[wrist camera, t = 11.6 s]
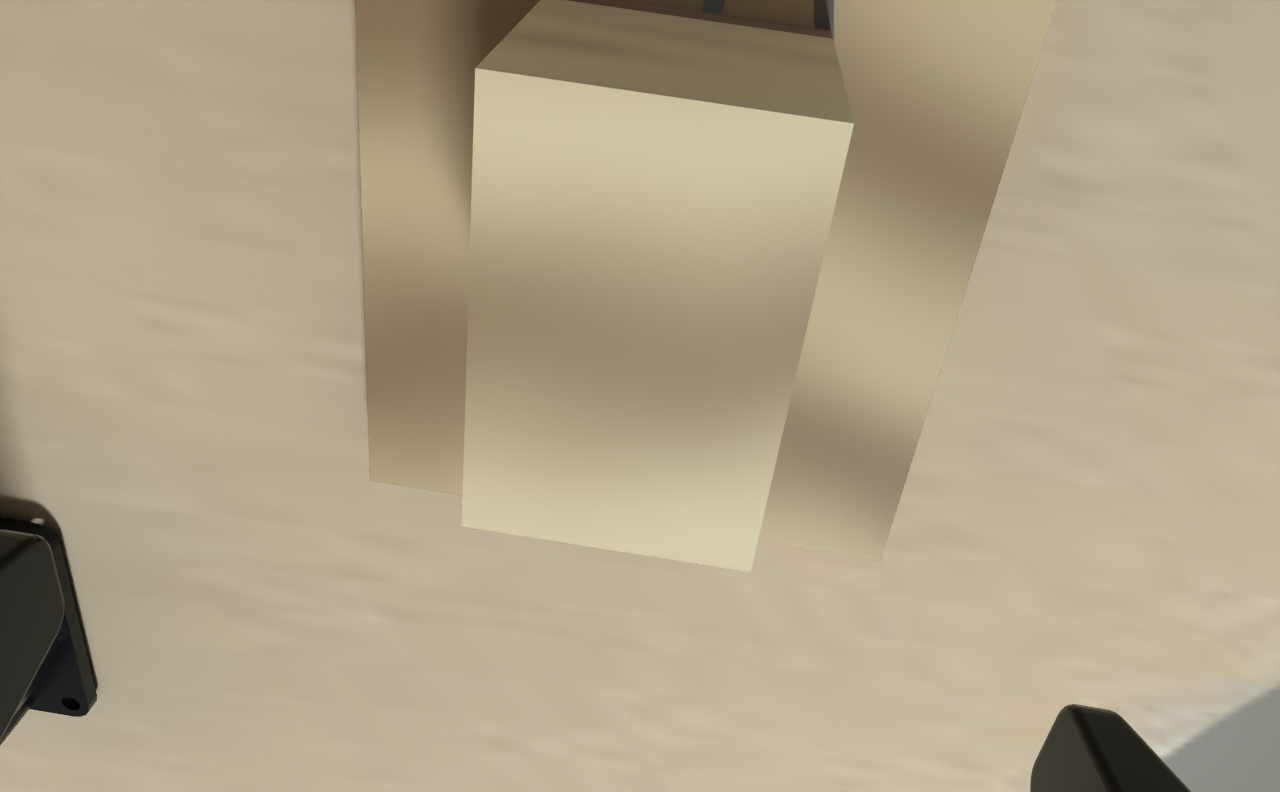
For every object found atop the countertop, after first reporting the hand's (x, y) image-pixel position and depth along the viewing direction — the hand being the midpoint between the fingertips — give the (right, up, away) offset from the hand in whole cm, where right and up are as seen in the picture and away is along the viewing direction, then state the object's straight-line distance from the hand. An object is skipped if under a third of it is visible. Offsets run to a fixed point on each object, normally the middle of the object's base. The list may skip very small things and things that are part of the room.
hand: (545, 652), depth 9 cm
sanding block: (+1, +5, +9) cm, 11 cm away
